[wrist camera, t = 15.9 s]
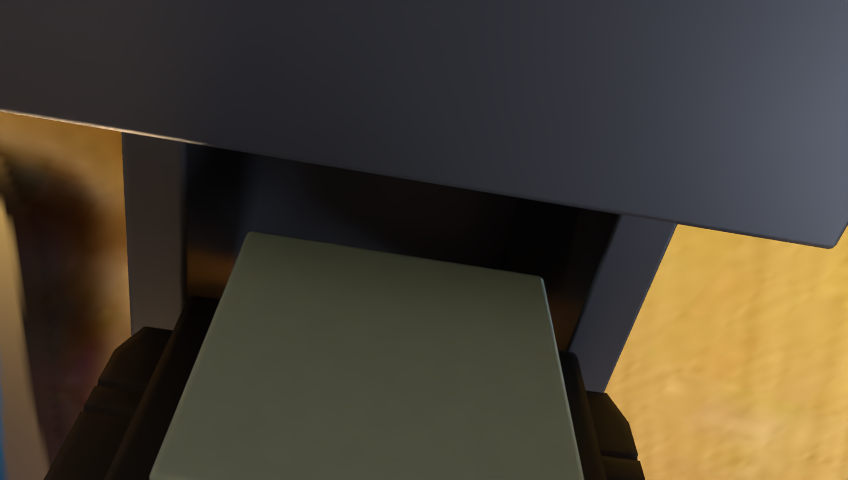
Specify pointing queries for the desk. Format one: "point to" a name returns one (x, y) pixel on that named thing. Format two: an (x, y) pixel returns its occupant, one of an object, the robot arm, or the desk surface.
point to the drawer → (377, 236)
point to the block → (372, 373)
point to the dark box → (478, 95)
